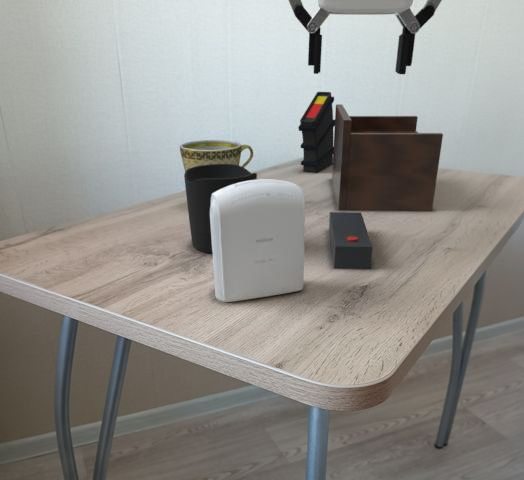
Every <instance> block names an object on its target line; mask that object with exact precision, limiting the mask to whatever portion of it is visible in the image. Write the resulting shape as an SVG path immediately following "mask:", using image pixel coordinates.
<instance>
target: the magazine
mask: <svg viewBox="0 0 524 480" xmlns="http://www.w3.org/2000/svg"><path fill="white" fill-rule="evenodd" d="M334 102H335V96H332V92H331V91H317V92H316V93H315V95H314V96H313V98H312V100H311V102H310V104H309V105H308V107H307V108H306V110H305V111H304V113H303V114H302V116H301V118H300V119H299V122H300V123H299V125H298V126H297V127H298V128H297V129H298V131H299V132H301V135H302V143H301V144H300V149H303V151H302V152H303V160H302V161H300V166H303V167H302V169H303V173H311V174H313V173H314V174H317V173H319V172H321V171H322V170H324V169H326V168H328V167H330V166H332V165H333V149H334V128H335V119H334V109H333V103H334Z"/></svg>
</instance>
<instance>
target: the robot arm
mask: <svg viewBox="0 0 524 480" xmlns="http://www.w3.org/2000/svg"><path fill="white" fill-rule="evenodd" d="M442 1H443V0H426V1H425V4H424V6H423V7H422V8H421V9H420V10H419V11H418V12H417V13H416V14H414V13H413V11H412V9H411V7H412V5H413V3H414V0H318V2H317V3H318V6H319V8H318V10H317V11H316V13H315V14H314V15H313V16H312V15H311V14H310V13H309V12H308V11H307V9H306V8H305V7H304V5H303V2H302V0H288V2H289V5H290V8H291V10H292V12H293V14H294V17H295V18H296V20H298V22H300V24H301V25H302V27H304V29H305V30H306V31H307V32H308V53H307V54H308V56H307V58H308V59H307V66H308V67H309V66H310V67H311V66H312V67H313V74H314V75H319V73H321V68H322V67H321V65H322V47H323V45H322V44H323V35H322V34H321V27H322V25H323V24H324V22H325V21H326V20H327V19H328V17H329V16H330V15H368V16H369V15H374V16H375V15H376V16H377V15H394V16H395V18H396V19H397V21H398V22H399V25H401V27H402V31H401V34H399V36H398V43H397V52H396V61H395V73H396V74H398V75H406V72H407V67H411V66H412V63H413V56H414V48H415V42H416V41H415V40H416V34H418V32H419V31H420V29H421V28H422V27H424V25H426V23H428V21H429V20H430V19H432V18H433V17H434V15H435V12H436V11H437V9H438V7H439V6H440V4H441V3H442Z"/></svg>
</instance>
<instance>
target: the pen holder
mask: <svg viewBox="0 0 524 480" xmlns="http://www.w3.org/2000/svg"><path fill="white" fill-rule="evenodd" d="M242 166H243V165H240V164H239V165H234V164H211V165H202V166H196V167H192V168H189V169H187V170H186V172H185V171H184V176H183V177H184V187H185V194H186V204H187V211H188V212H187V213H188V221H189V229H190V236H191V244H192V247H193V248H195V250H197V251H199V252H200V253H204V254H208V255H209V254H210V255H213V254H212V239H211V225H210V207H211V196H212V193H214V192H216V191H218V190H220V189H222V188H224V187H227V186H229V185H232V184H236V183H239V182H243V181H248V180H257V179H258V173H257V172H250V171H249V170H248V169H247V168H246V167H245V168H243V167H242Z"/></svg>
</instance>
